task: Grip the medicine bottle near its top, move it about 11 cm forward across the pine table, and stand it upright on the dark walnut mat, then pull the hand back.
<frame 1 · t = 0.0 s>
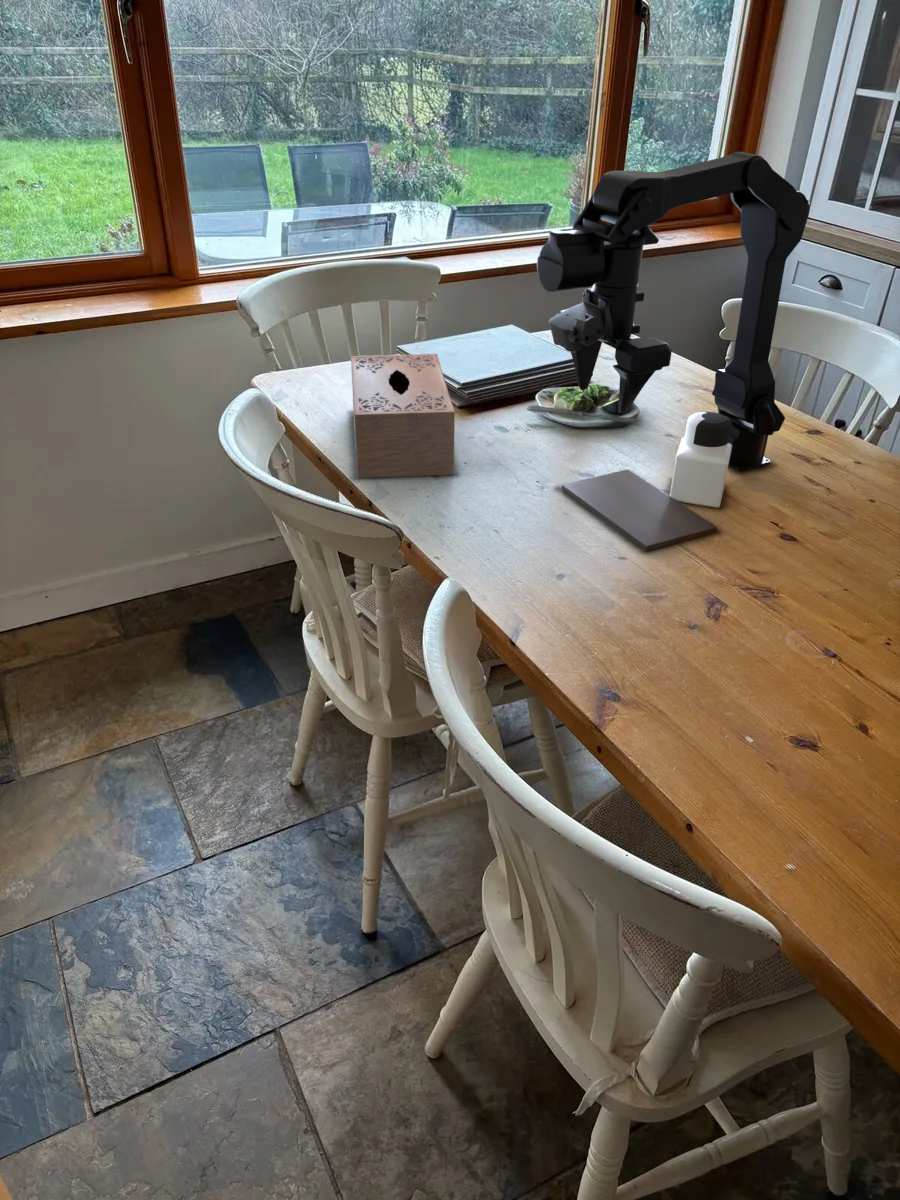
hand: (602, 400, 123), 15 cm above the table, tool pointing down, fingers open, 9 cm apart
tissue box cover: (400, 442, 147), on the table
walnut mat: (635, 509, 128), on the table
medicine bottle: (696, 495, 133), on the table
salad plate: (589, 413, 158), on the table
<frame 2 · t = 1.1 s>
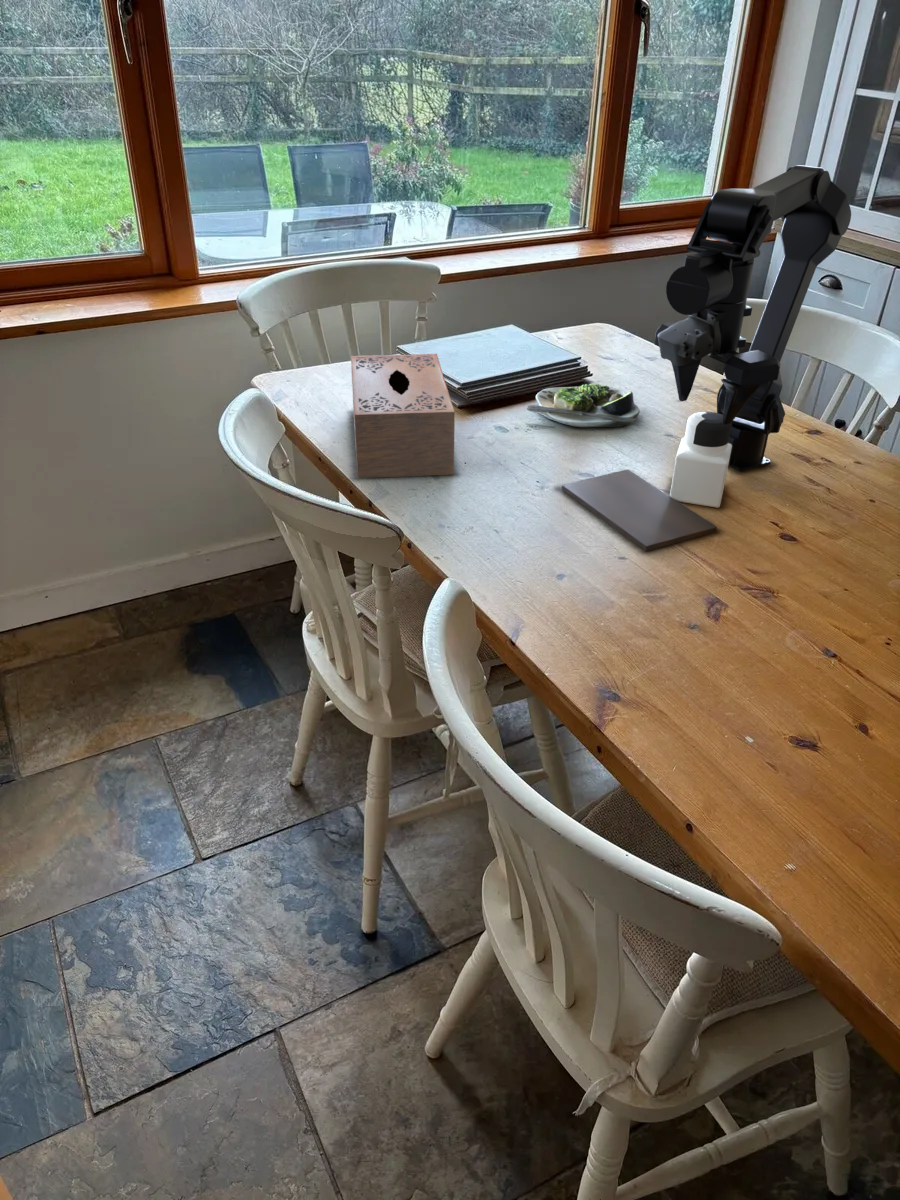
hand: (704, 412, 126), 13 cm above the table, tool pointing down, fingers open, 9 cm apart
nothing on the table moved.
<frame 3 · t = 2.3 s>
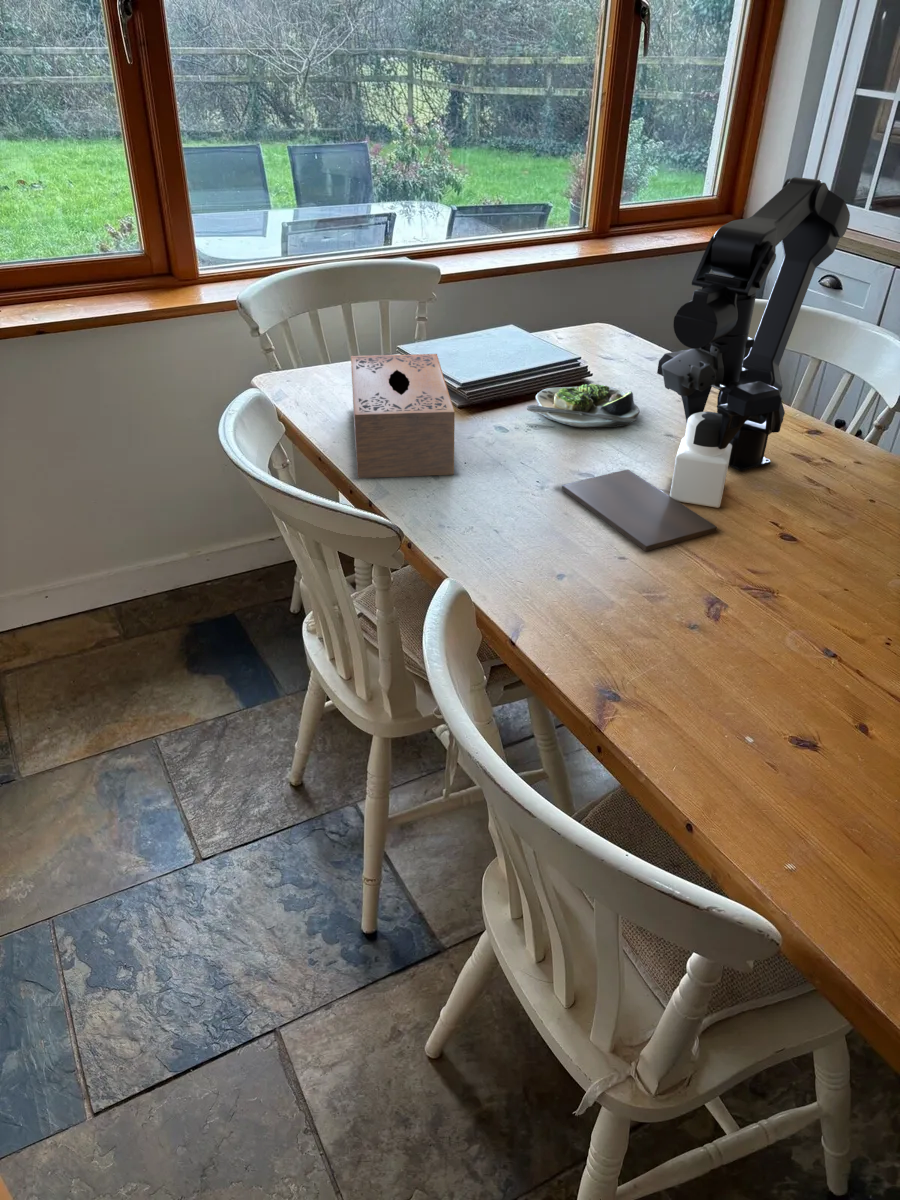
hand: (706, 440, 128), 9 cm above the table, tool pointing down, fingers closed on medicine bottle, 6 cm apart
medicine bottle: (696, 495, 133), on the table, touching gripper
everything else where it was.
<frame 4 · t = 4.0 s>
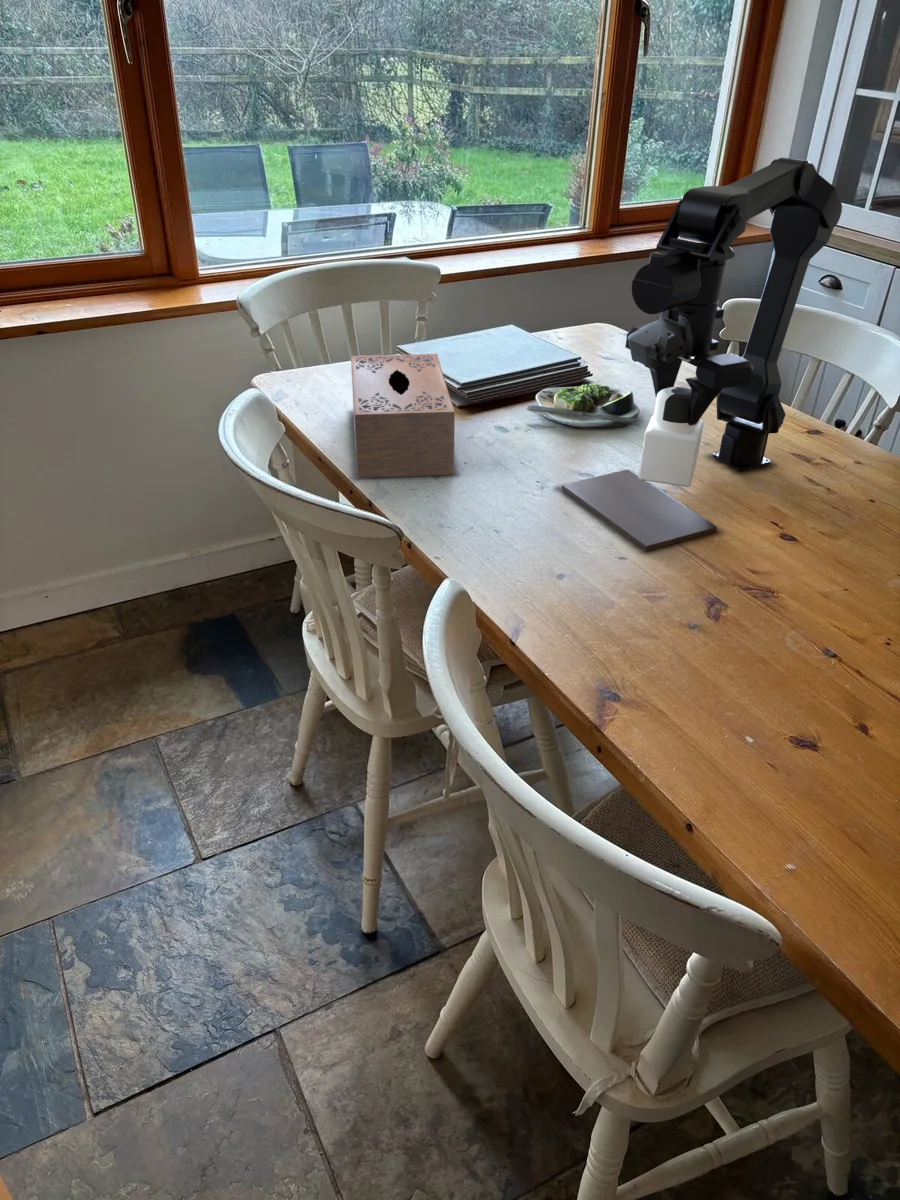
hand: (676, 416, 123), 13 cm above the table, tool pointing down, fingers closed on medicine bottle, 6 cm apart
medicine bottle: (666, 475, 127), point 4 cm above the table, touching gripper
everything else where it was.
when the fingers open (9 cm above the table, at t = 6.0 s): medicine bottle stays where it is, resting on walnut mat.
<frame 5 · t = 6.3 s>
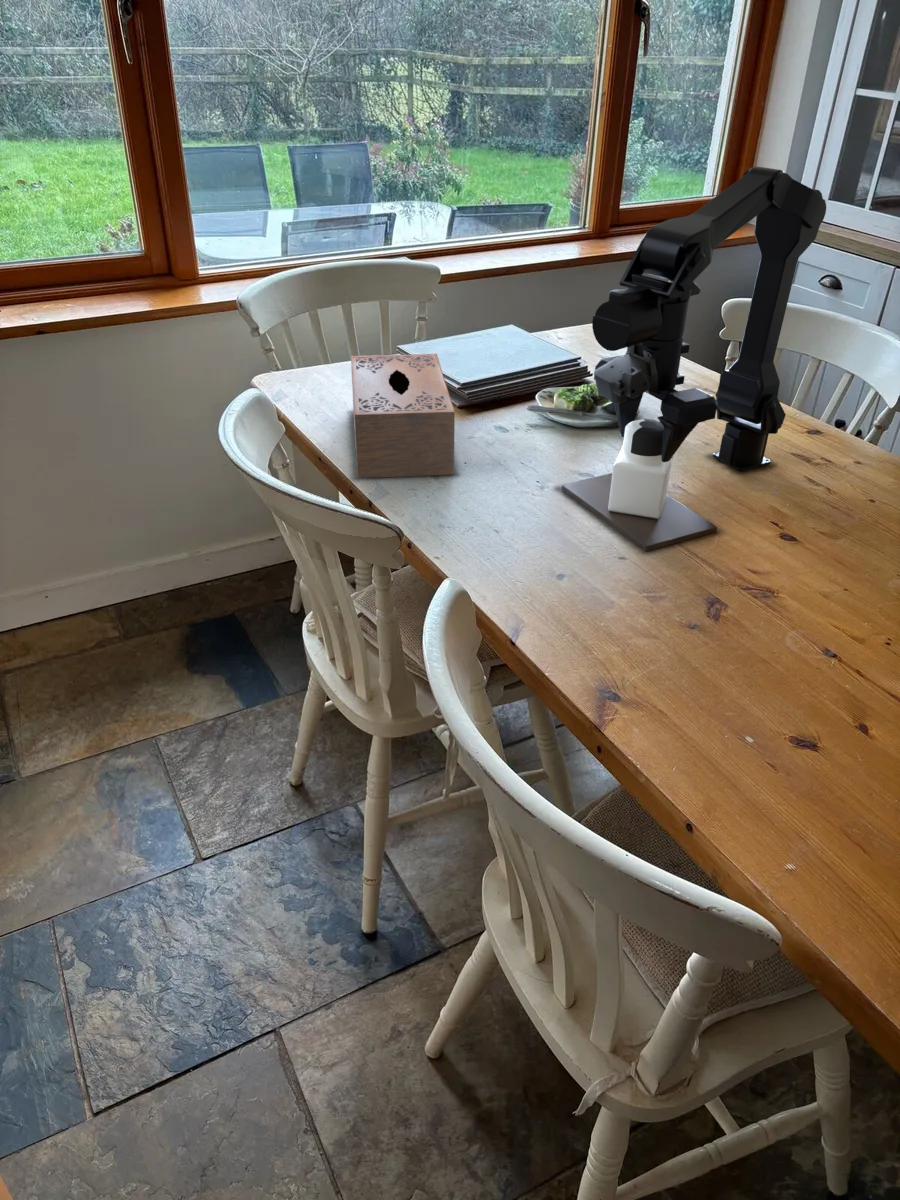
hand: (644, 448, 123), 9 cm above the table, tool pointing down, fingers open, 9 cm apart
medicine bottle: (637, 505, 128), point 1 cm above the table, touching walnut mat
everything else where it was.
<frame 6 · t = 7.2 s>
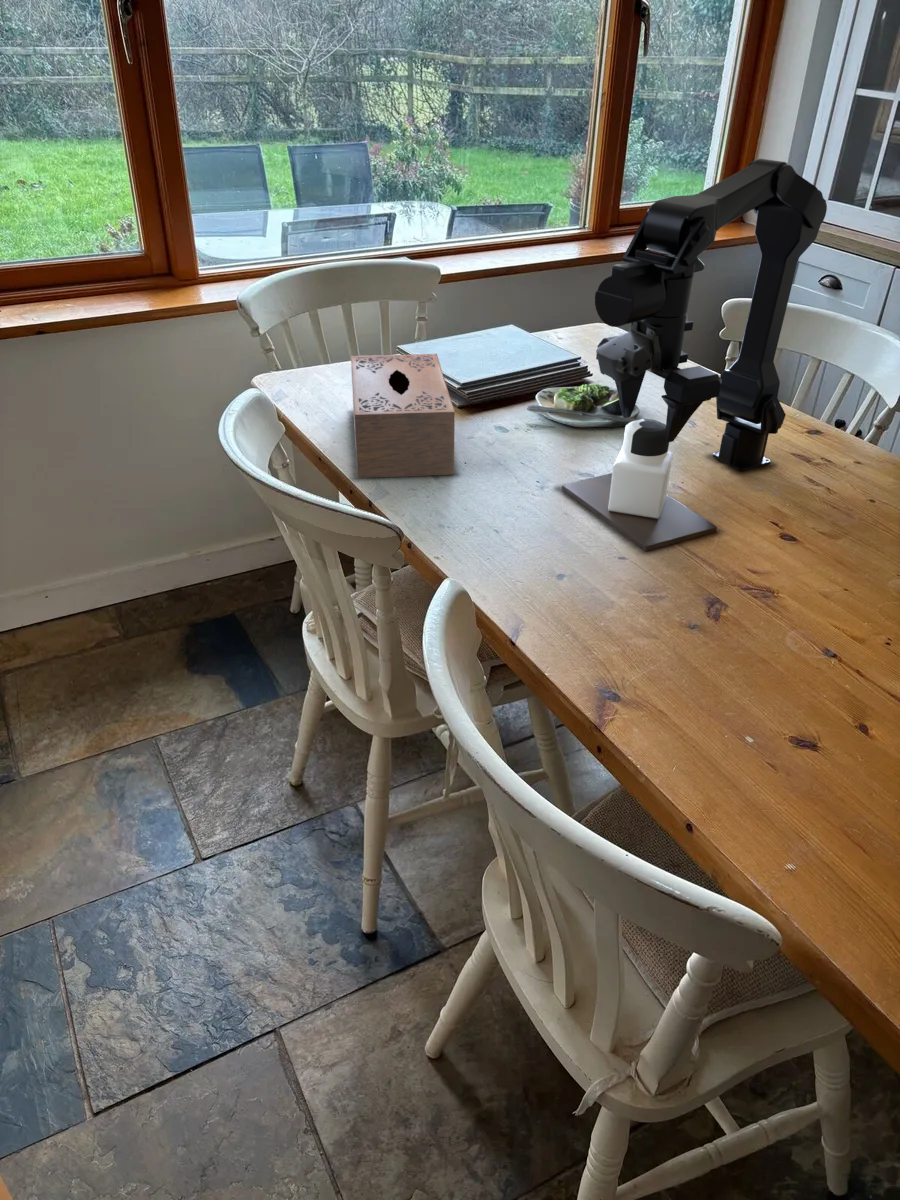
hand: (647, 429, 121), 12 cm above the table, tool pointing down, fingers open, 9 cm apart
nothing on the table moved.
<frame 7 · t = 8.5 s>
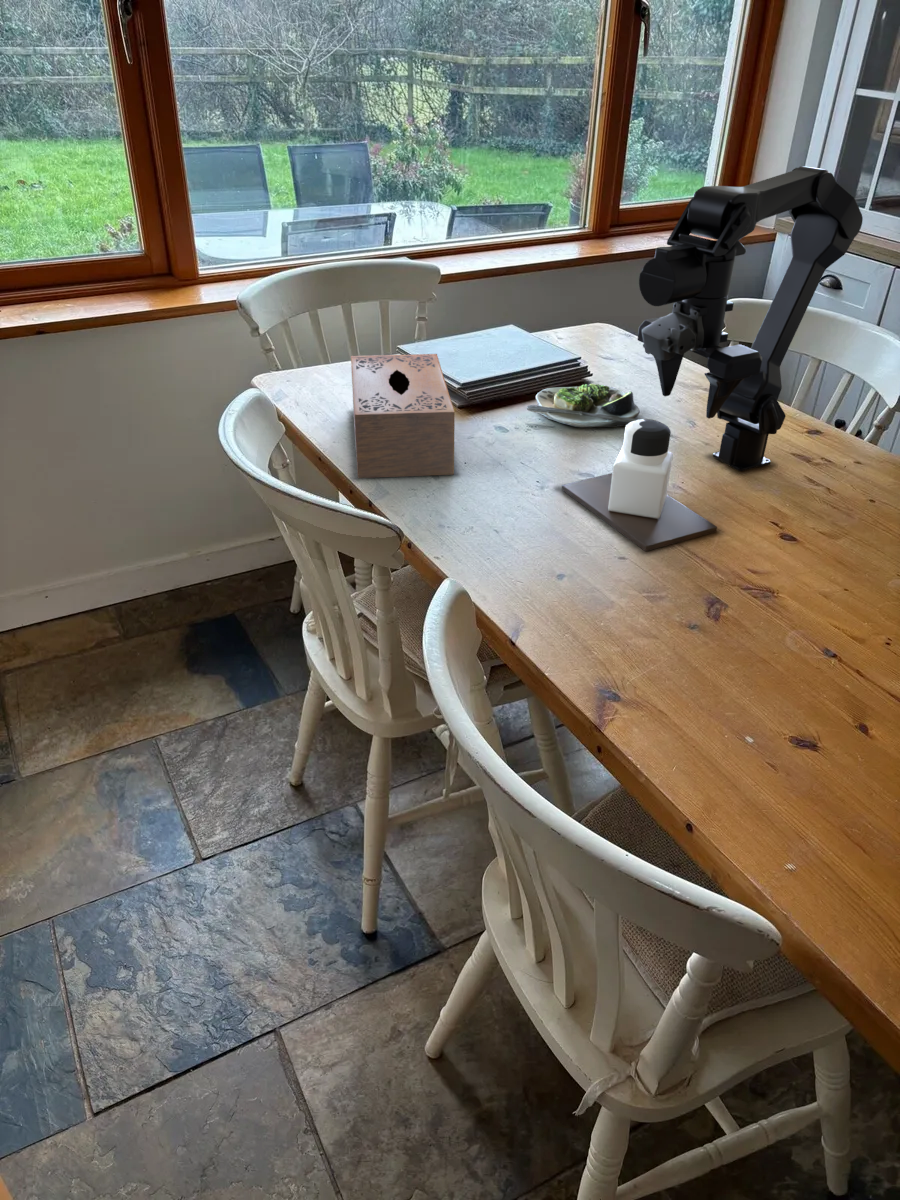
hand: (687, 406, 127), 13 cm above the table, tool pointing down, fingers open, 9 cm apart
nothing on the table moved.
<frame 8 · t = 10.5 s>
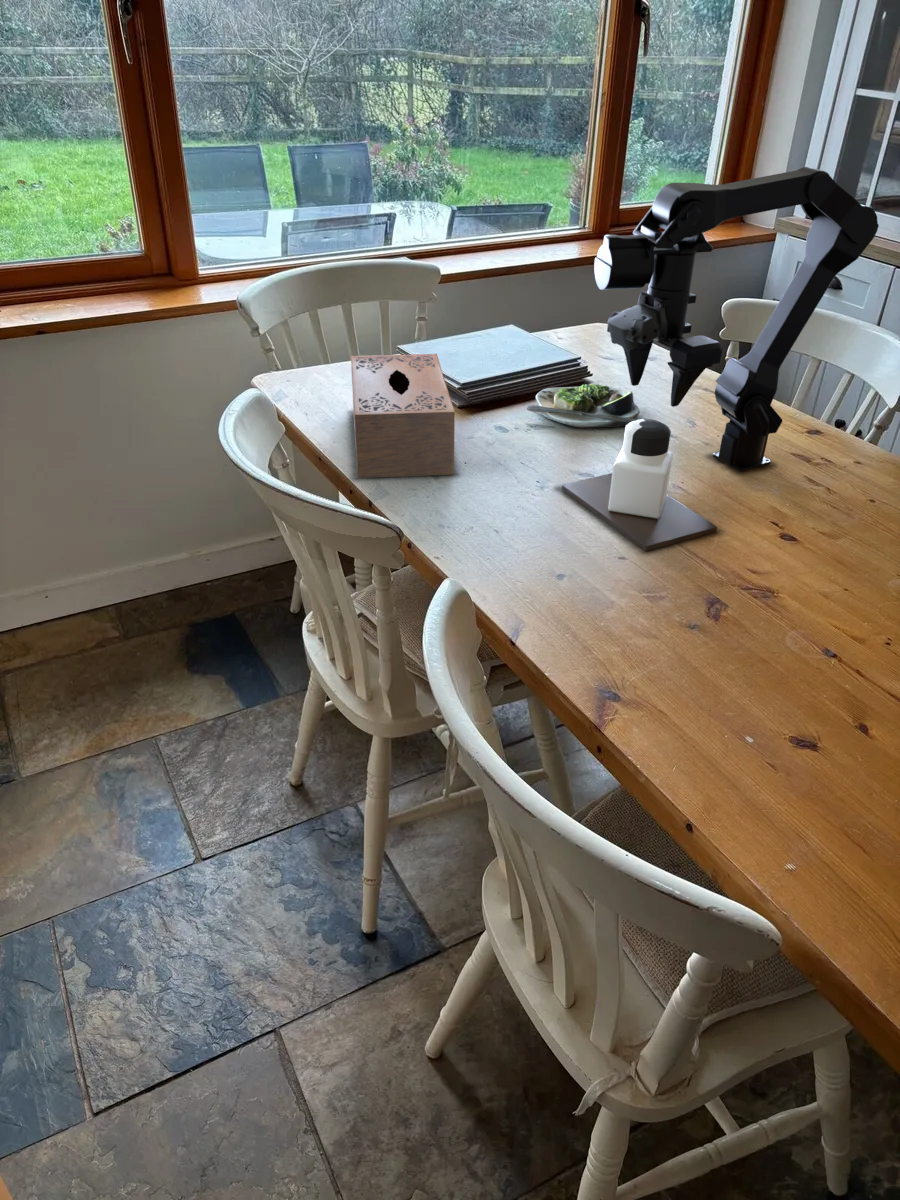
hand: (654, 395, 132), 12 cm above the table, tool pointing down, fingers open, 9 cm apart
nothing on the table moved.
at the end: medicine bottle inside the target area on the walnut mat (0.1 cm from its centre), point 0.6 cm above the walnut mat's base; medicine bottle moved 10.9 cm from its start; medicine bottle tilted 0° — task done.
